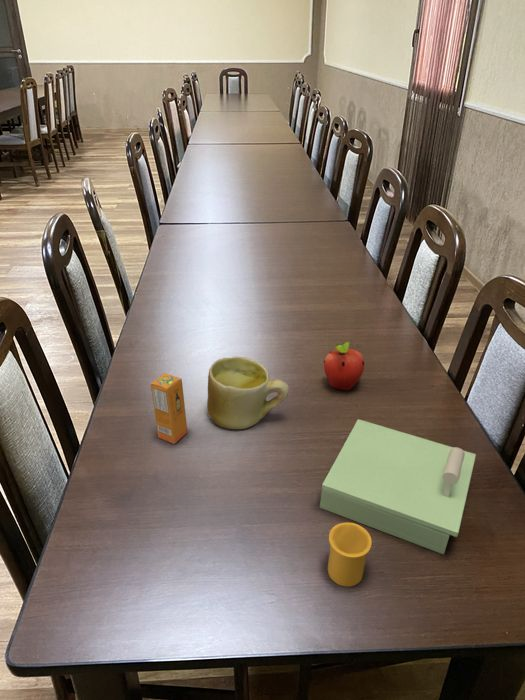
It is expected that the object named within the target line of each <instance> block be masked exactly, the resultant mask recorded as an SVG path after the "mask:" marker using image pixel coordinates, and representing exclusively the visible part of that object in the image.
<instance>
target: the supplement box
mask: <svg viewBox="0 0 525 700" xmlns="http://www.w3.org/2000/svg"><path fill="white" fill-rule="evenodd" d="M150 390H151V395H152V396H151V397H152V403H153V410H154V418H155V424H156V429H157V436H158V438H159V439H161V440H163V441H165V442H167V443H170V444H173V445H175V444H177V443H178V442H179V441H180V440H181V439H182V438H183V437H184V436H185V435H186V434H188V423H187V415H186V414H187V413H186V407H185V397H184V395H185V394H184V387H183V379H182V378H181V377H178V376H175V375H173V374H172V375H171V374H168V373H162V374H161V375H160V376H159V377H158V378H156V379H155V380H154V381H151V383H150Z"/></svg>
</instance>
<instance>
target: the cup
mask: <svg viewBox="0 0 525 700" xmlns="http://www.w3.org/2000/svg"><path fill="white" fill-rule="evenodd" d="M372 542H373V541H372V537H371V535H370V533H369V531H368V530H367V529H366V528H364V527H363V526H362V525H359V524H357V523H354V522H341V523H337V524H335V525H334V526H333V527H332V528H331V529H330V530H329V533H328V543H329V546H330V547H329V554H328V562H327V574H328V576H329V578H330V579H331V580H332V582H334V583H336V584H337V585H339V586H342V587H353V586H356V585H357V584H359V583H360V582H361V581H362V579H363V577H364V572H365V566H366V561H367V555H368V554H369V553H370V551H371V548H372V546H373V545H372V544H373V543H372Z"/></svg>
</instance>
